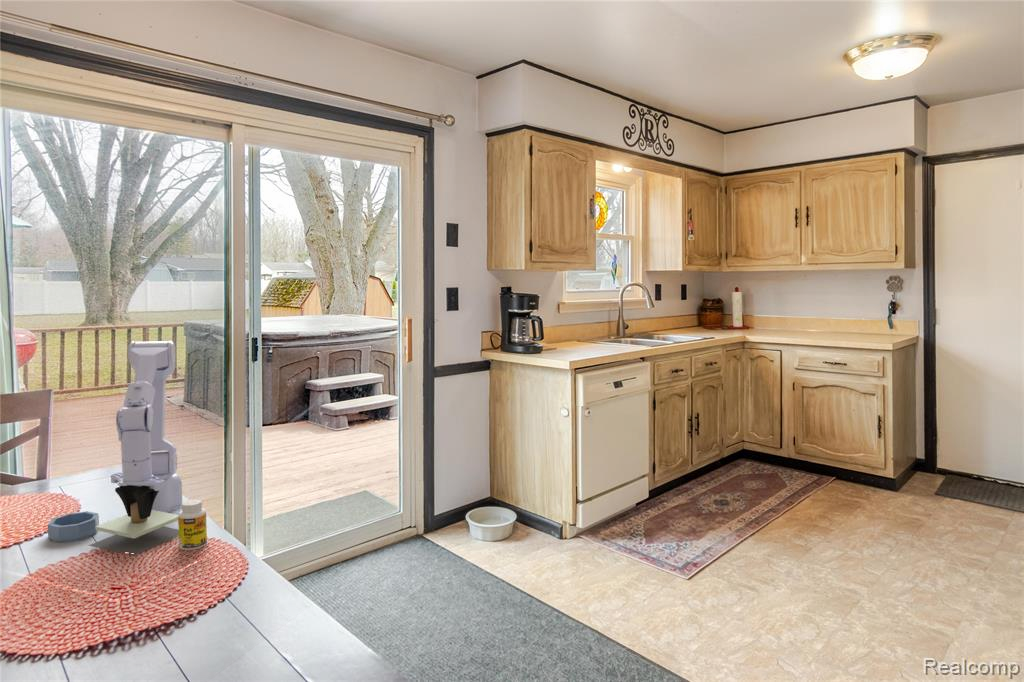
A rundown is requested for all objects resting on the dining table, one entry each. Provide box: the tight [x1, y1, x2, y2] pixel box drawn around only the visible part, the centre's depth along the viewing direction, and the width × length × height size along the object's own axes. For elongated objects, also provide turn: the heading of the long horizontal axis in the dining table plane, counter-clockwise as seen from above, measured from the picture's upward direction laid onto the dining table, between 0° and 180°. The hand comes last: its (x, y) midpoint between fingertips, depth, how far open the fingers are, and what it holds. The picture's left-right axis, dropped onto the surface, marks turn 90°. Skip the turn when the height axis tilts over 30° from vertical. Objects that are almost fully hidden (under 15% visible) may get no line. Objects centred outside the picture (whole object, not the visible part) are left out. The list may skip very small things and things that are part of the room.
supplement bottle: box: [177, 498, 208, 551], centre depth 137 cm, size 6×6×10 cm
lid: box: [95, 502, 178, 538], centre depth 140 cm, size 12×12×5 cm
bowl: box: [47, 510, 100, 543], centre depth 142 cm, size 9×9×4 cm
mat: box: [88, 526, 179, 557], centre depth 141 cm, size 14×14×1 cm
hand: (139, 516), depth 140 cm, fingers closed on lid, 3 cm apart
